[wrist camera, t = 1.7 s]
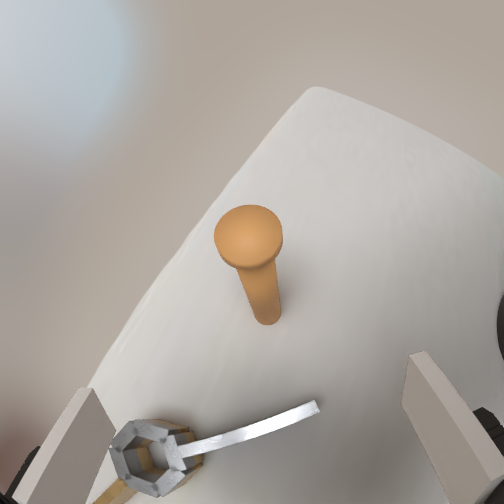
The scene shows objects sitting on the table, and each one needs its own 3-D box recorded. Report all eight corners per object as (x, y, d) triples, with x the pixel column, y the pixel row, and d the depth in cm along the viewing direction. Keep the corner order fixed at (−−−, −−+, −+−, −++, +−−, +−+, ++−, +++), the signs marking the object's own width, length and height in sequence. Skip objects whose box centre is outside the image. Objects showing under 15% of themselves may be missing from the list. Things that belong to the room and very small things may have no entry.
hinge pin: (295, 308, 35) (295, 225, 20) (271, 338, 33) (252, 276, 18) (264, 287, 36) (243, 195, 22) (240, 315, 35) (200, 239, 20)
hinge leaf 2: (152, 490, 26) (127, 501, 21) (129, 426, 30) (102, 426, 25) (327, 439, 27) (334, 446, 22) (297, 371, 31) (298, 364, 26)
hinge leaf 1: (216, 451, 28) (201, 459, 23) (115, 543, 22) (90, 557, 16) (166, 406, 31) (143, 405, 25) (76, 502, 24) (47, 509, 19)
